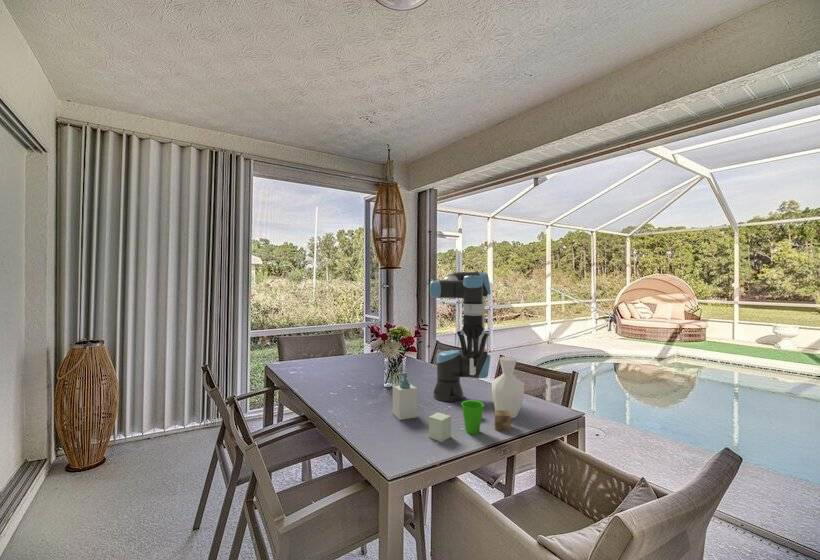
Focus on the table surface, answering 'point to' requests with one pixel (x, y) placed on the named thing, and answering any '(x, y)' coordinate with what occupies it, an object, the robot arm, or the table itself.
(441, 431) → the sage block
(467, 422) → the cup
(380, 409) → the table surface
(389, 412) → the table surface
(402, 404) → the soap bottle
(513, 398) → the vase
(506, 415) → the walnut block
